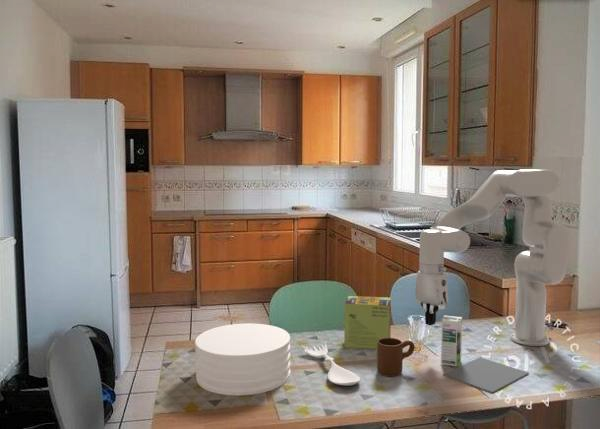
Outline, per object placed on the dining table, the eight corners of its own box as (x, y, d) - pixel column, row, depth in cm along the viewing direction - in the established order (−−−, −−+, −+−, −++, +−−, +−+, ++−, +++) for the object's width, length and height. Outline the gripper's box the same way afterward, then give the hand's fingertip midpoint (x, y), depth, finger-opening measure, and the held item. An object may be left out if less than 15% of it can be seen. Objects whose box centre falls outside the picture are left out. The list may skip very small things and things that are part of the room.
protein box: (389, 350, 176) (390, 305, 174) (344, 347, 179) (344, 303, 177) (390, 339, 186) (391, 297, 184) (347, 337, 189) (347, 295, 187)
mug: (408, 364, 164) (408, 334, 163) (420, 373, 157) (420, 343, 156) (372, 368, 161) (372, 338, 160) (383, 378, 153) (383, 347, 152)
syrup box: (440, 364, 163) (441, 319, 161) (442, 358, 168) (443, 314, 167) (459, 367, 161) (460, 321, 159) (461, 360, 166) (462, 316, 165)
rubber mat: (480, 358, 168) (480, 357, 168) (528, 373, 156) (528, 372, 155) (442, 375, 155) (442, 373, 155) (492, 393, 143) (492, 392, 143)
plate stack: (297, 391, 146) (296, 351, 144) (194, 399, 141) (193, 358, 140) (284, 354, 173) (283, 321, 172) (197, 360, 169) (196, 326, 168)
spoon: (325, 350, 177) (325, 340, 177) (366, 388, 147) (366, 377, 147) (299, 353, 175) (299, 343, 174) (336, 393, 144) (336, 381, 144)
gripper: (458, 270, 164) (457, 327, 166) (419, 263, 176) (419, 316, 178) (443, 273, 160) (442, 332, 162) (405, 266, 171) (404, 321, 173)
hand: (430, 323), depth 170 cm, fingers closed
